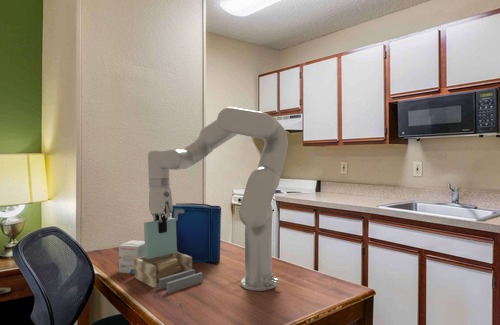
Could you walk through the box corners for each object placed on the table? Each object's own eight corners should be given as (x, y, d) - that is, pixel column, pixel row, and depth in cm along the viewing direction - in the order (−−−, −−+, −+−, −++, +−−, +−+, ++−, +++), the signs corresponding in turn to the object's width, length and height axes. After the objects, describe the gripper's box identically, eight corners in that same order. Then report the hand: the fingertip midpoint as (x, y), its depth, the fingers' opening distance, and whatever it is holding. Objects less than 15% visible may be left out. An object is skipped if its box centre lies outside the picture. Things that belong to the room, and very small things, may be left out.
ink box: (150, 269, 136) (150, 240, 136) (138, 276, 128) (137, 246, 127) (131, 267, 138) (131, 239, 138) (118, 274, 130) (118, 244, 130)
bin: (192, 278, 126) (192, 257, 126) (153, 290, 115) (153, 267, 114) (172, 269, 136) (171, 249, 136) (134, 279, 124) (134, 258, 124)
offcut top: (177, 267, 125) (177, 259, 125) (159, 273, 119) (159, 264, 119) (171, 265, 127) (171, 257, 127) (153, 270, 121) (153, 262, 121)
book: (222, 259, 148) (222, 203, 148) (219, 264, 141) (219, 205, 141) (175, 258, 150) (174, 202, 150) (170, 263, 143) (169, 205, 143)
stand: (206, 285, 119) (206, 273, 119) (169, 298, 108) (169, 285, 108) (191, 278, 125) (191, 267, 125) (155, 290, 115) (155, 278, 114)
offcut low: (181, 275, 125) (181, 266, 125) (157, 283, 118) (157, 273, 118) (175, 273, 128) (175, 264, 128) (151, 280, 121) (151, 270, 121)
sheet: (176, 251, 130) (175, 218, 130) (148, 259, 122) (147, 223, 121) (173, 250, 132) (172, 217, 131) (145, 257, 123) (143, 222, 123)
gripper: (179, 183, 123) (181, 233, 123) (157, 181, 135) (158, 227, 135) (161, 184, 118) (162, 237, 118) (139, 183, 129) (141, 230, 130)
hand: (160, 231), depth 126 cm, fingers closed on sheet, 2 cm apart
